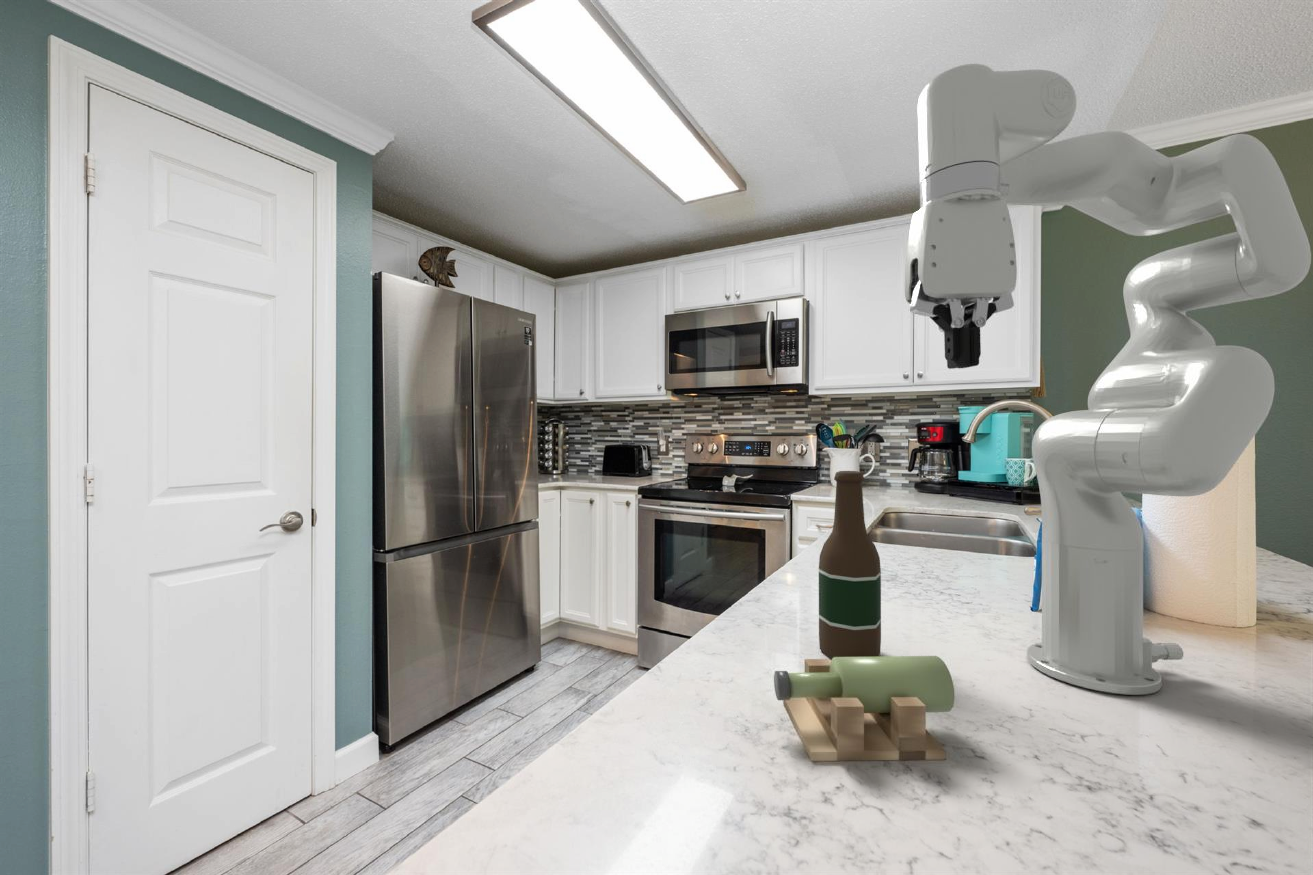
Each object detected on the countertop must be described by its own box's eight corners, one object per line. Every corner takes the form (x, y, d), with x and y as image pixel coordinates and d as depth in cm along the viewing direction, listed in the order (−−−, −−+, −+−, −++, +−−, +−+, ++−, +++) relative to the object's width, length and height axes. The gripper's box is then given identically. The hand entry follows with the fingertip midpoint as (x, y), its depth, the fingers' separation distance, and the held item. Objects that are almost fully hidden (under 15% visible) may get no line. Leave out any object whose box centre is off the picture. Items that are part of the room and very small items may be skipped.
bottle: (927, 646, 55) (771, 648, 54) (955, 670, 50) (784, 673, 49) (925, 694, 55) (770, 696, 55) (953, 722, 50) (783, 725, 50)
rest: (894, 702, 58) (894, 658, 57) (945, 759, 48) (945, 705, 47) (783, 703, 57) (783, 659, 57) (811, 760, 47) (811, 706, 47)
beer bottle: (887, 668, 66) (887, 473, 66) (821, 663, 67) (821, 473, 67) (875, 644, 74) (874, 469, 73) (816, 640, 75) (815, 469, 75)
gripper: (1003, 208, 61) (1007, 369, 62) (874, 211, 61) (879, 373, 61) (1053, 178, 54) (1057, 360, 54) (907, 181, 54) (912, 365, 54)
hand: (962, 366), depth 58 cm, fingers closed
